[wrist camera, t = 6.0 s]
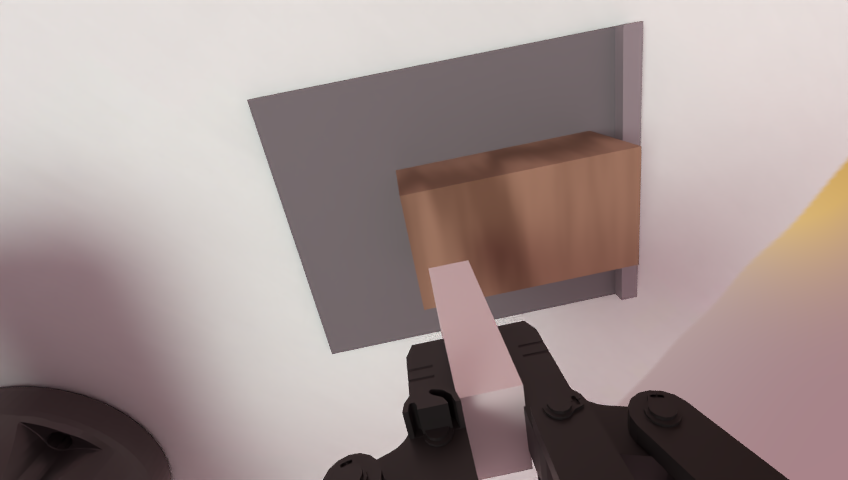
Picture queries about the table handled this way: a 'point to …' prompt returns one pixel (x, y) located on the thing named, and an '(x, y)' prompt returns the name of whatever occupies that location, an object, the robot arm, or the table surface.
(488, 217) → the walnut block
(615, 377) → the table surface
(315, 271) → the mat
